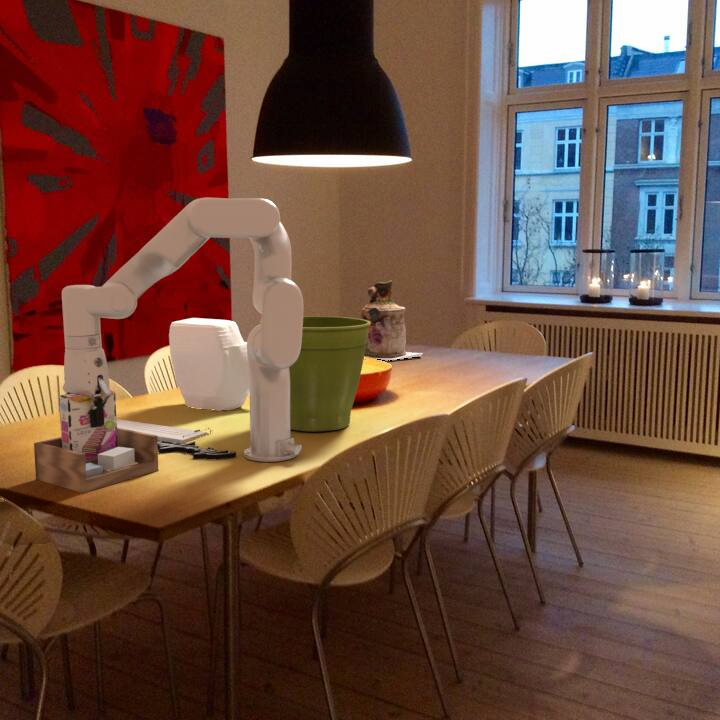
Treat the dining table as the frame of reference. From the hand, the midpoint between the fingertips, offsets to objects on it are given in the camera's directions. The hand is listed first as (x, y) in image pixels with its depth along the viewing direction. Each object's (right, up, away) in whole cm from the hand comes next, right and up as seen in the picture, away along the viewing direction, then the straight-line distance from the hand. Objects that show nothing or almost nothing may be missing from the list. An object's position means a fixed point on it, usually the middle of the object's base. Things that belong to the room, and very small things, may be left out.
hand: (88, 423), depth 188 cm
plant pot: (+47, -4, +47) cm, 67 cm away
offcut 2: (+7, -9, -2) cm, 11 cm away
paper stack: (+16, 0, +70) cm, 72 cm away
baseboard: (+5, -6, +40) cm, 40 cm away
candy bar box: (0, -10, +2) cm, 10 cm away
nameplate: (+17, -9, +20) cm, 28 cm away
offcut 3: (+7, -12, -1) cm, 14 cm away
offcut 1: (+2, -12, -7) cm, 15 cm away
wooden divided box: (+2, -11, 0) cm, 11 cm away
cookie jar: (+69, +15, +170) cm, 184 cm away
